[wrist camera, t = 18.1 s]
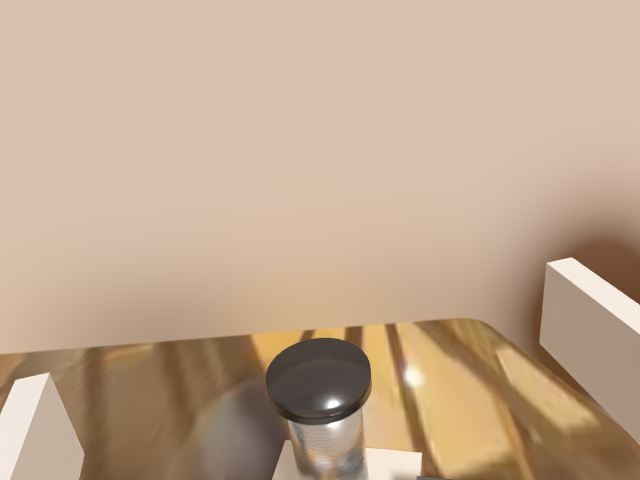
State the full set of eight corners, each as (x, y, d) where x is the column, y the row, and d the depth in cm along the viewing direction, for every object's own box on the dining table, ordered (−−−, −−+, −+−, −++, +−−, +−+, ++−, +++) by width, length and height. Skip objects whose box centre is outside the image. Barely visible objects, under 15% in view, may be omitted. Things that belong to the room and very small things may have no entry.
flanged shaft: (283, 544, 46) (251, 404, 38) (306, 466, 52) (282, 335, 45) (377, 558, 44) (361, 414, 36) (388, 475, 50) (376, 340, 43)
